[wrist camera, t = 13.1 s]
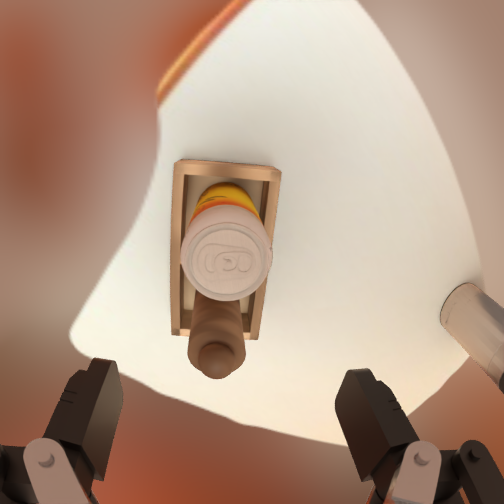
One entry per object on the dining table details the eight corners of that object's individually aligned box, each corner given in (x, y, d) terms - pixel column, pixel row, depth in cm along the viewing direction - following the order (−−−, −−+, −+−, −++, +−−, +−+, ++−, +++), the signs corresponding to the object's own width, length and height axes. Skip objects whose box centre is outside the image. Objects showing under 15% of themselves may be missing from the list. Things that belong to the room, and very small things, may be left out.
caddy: (273, 166, 32) (316, 193, 18) (253, 316, 39) (271, 412, 24) (181, 159, 31) (144, 179, 16) (176, 311, 38) (157, 408, 23)
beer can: (196, 181, 31) (175, 216, 18) (254, 181, 32) (278, 217, 18) (197, 235, 34) (181, 306, 20) (251, 235, 34) (272, 305, 20)
